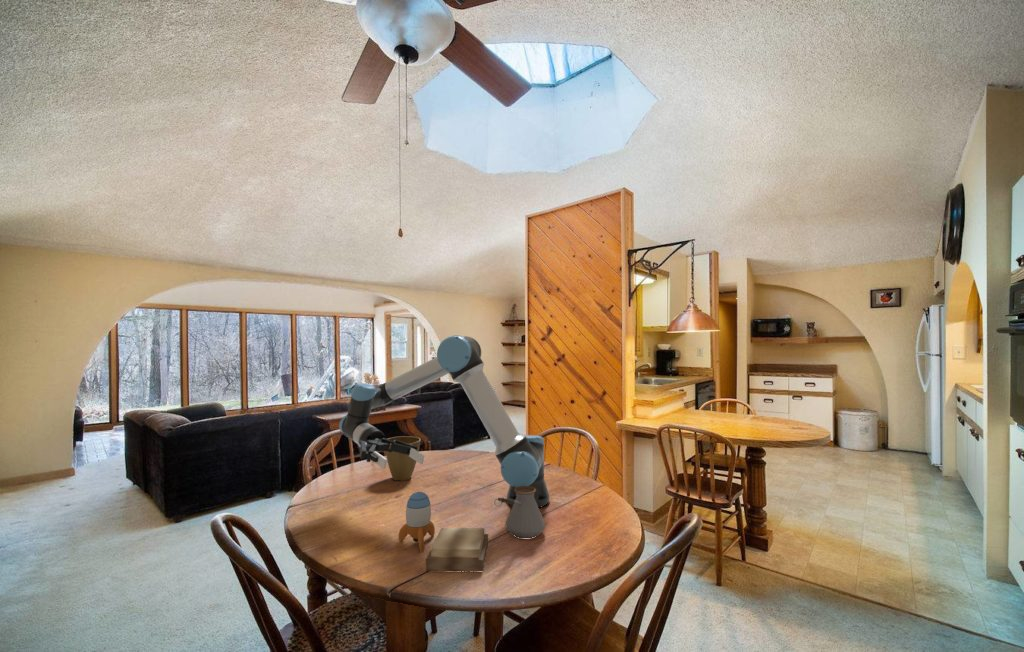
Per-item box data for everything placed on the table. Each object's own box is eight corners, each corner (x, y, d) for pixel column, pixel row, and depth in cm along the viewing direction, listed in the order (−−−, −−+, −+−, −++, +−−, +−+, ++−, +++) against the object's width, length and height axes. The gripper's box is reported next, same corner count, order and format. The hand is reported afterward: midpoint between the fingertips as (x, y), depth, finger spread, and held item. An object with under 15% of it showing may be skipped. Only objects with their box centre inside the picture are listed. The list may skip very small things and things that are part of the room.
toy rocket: (429, 556, 112) (417, 503, 111) (393, 560, 114) (381, 507, 113) (442, 534, 122) (431, 485, 121) (409, 537, 124) (398, 489, 123)
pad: (488, 545, 116) (488, 526, 116) (482, 572, 102) (482, 551, 102) (438, 544, 116) (438, 526, 117) (426, 571, 102) (426, 550, 103)
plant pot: (377, 483, 169) (377, 443, 170) (393, 472, 184) (393, 435, 185) (412, 484, 167) (412, 444, 168) (425, 473, 181) (425, 436, 182)
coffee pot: (518, 522, 131) (517, 473, 131) (551, 530, 125) (550, 479, 125) (479, 551, 112) (479, 495, 113) (516, 562, 106) (516, 502, 107)
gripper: (398, 446, 150) (434, 469, 136) (330, 451, 131) (364, 478, 117) (402, 425, 150) (439, 447, 136) (336, 428, 131) (370, 452, 117)
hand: (404, 461), depth 126 cm, fingers open, 13 cm apart
